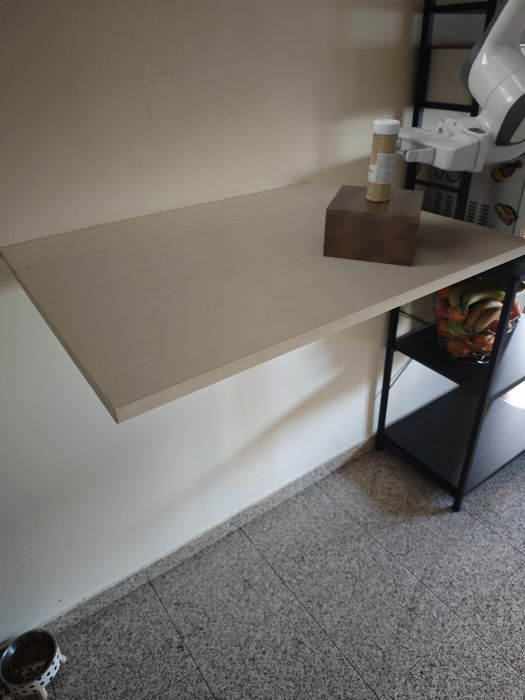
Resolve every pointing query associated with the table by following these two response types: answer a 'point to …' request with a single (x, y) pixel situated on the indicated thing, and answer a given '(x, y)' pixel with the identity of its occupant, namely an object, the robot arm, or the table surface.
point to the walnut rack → (372, 226)
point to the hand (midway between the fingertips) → (389, 150)
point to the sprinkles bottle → (382, 159)
